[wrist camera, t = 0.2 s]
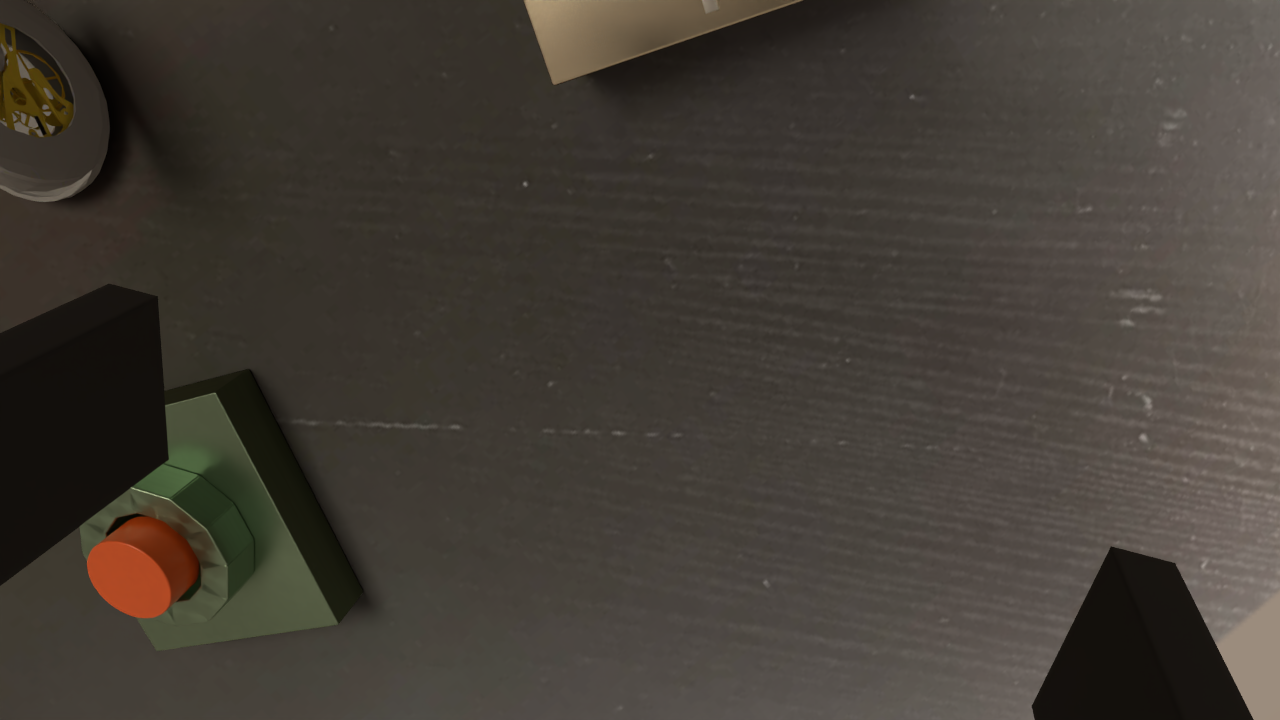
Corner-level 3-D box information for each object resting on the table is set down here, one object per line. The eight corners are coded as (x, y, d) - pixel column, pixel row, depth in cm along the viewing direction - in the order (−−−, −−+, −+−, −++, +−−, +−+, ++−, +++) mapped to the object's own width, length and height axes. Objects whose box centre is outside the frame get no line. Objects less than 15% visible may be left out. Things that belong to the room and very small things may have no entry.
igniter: (66, 416, 40) (-12, 463, 36) (249, 368, 37) (183, 414, 33) (188, 619, 43) (127, 680, 40) (364, 591, 40) (315, 655, 37)
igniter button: (103, 523, 37) (69, 549, 35) (171, 509, 36) (140, 535, 34) (147, 596, 38) (117, 624, 36) (215, 584, 37) (187, 613, 35)
